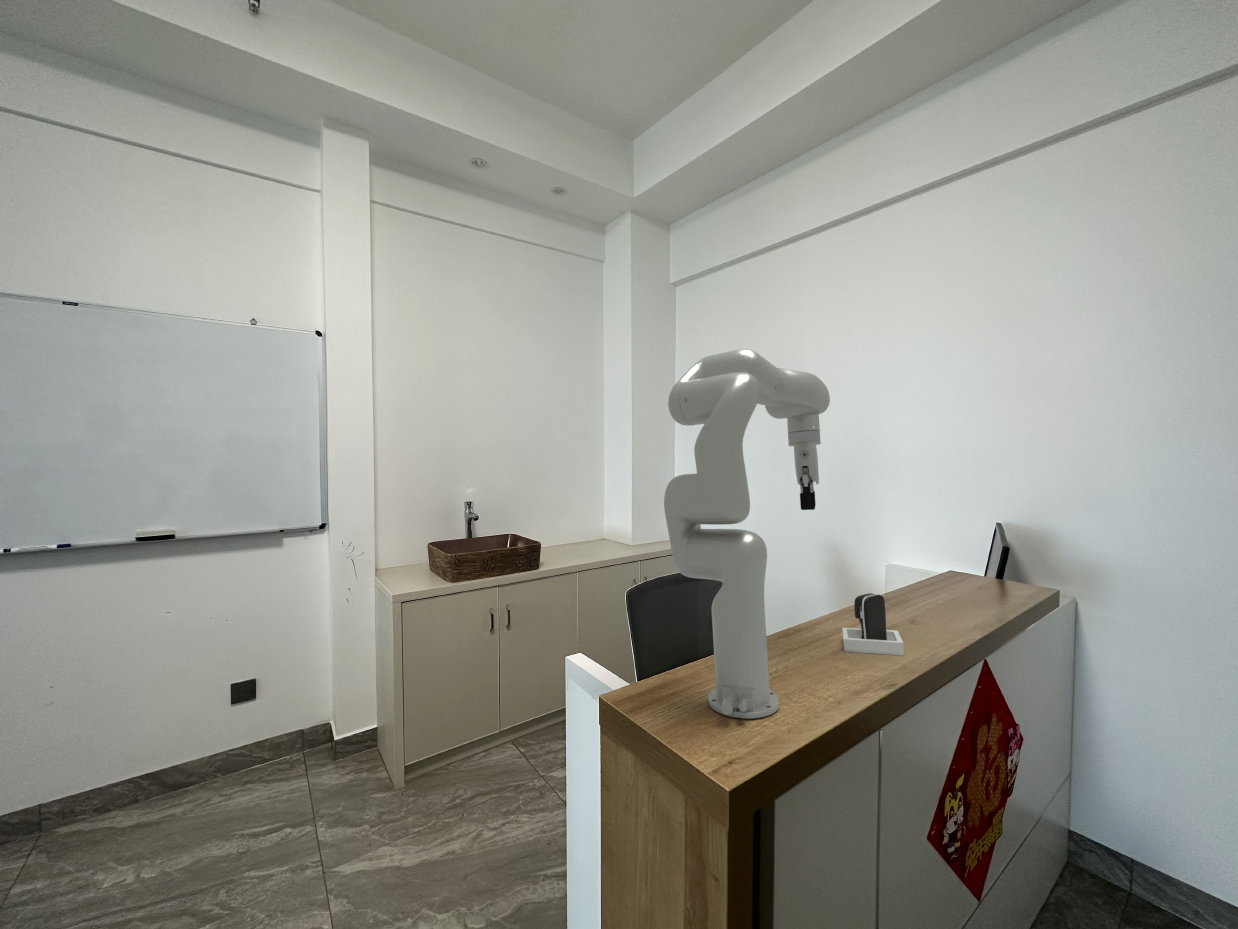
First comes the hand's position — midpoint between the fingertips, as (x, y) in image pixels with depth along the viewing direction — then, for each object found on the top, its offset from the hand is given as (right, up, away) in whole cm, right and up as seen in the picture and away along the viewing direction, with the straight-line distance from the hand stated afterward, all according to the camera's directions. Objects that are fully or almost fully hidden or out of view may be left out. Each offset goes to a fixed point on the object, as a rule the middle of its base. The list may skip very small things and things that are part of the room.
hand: (808, 508), depth 126 cm
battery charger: (+12, -31, -8) cm, 34 cm away
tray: (+12, -32, -8) cm, 35 cm away
